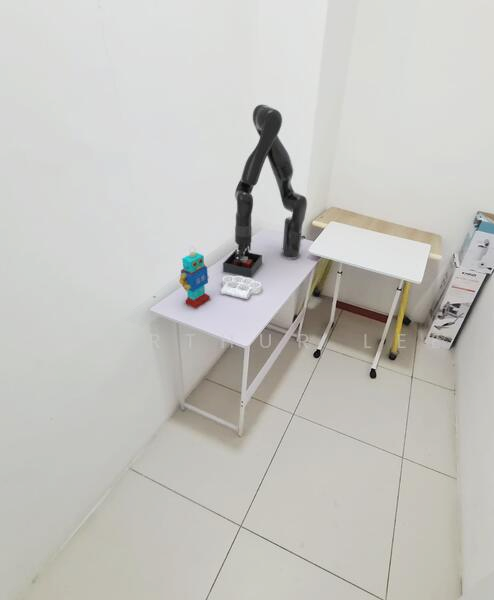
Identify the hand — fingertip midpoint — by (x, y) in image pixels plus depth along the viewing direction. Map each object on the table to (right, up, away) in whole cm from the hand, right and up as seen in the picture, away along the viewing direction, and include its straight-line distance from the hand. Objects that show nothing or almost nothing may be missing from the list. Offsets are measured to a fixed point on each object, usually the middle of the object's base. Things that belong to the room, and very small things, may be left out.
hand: (242, 263), depth 162 cm
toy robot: (-16, -18, -23) cm, 33 cm away
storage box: (0, -2, +2) cm, 3 cm away
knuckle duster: (+1, -13, -13) cm, 19 cm away
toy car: (0, -1, +2) cm, 2 cm away
